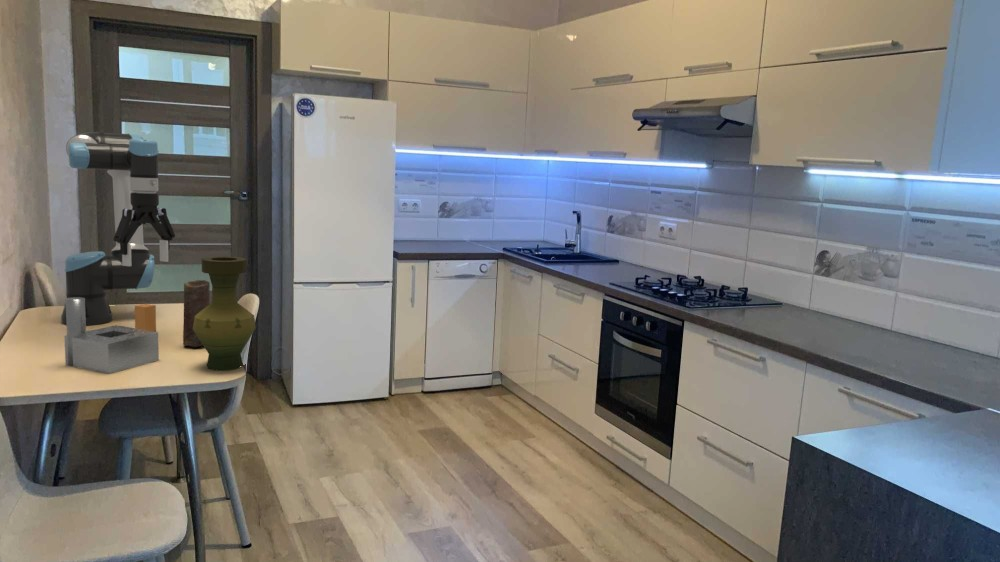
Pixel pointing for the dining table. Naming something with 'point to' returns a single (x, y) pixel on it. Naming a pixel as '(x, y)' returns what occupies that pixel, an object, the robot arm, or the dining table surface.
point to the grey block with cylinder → (105, 343)
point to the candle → (194, 308)
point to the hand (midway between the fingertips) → (146, 263)
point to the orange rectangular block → (145, 317)
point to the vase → (224, 315)
